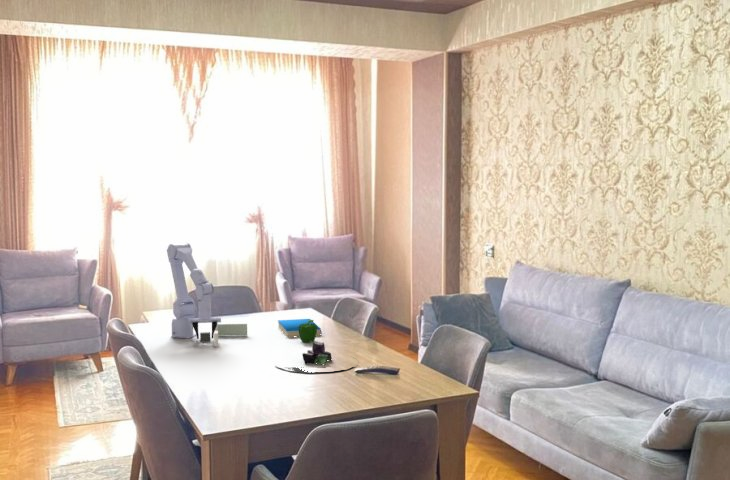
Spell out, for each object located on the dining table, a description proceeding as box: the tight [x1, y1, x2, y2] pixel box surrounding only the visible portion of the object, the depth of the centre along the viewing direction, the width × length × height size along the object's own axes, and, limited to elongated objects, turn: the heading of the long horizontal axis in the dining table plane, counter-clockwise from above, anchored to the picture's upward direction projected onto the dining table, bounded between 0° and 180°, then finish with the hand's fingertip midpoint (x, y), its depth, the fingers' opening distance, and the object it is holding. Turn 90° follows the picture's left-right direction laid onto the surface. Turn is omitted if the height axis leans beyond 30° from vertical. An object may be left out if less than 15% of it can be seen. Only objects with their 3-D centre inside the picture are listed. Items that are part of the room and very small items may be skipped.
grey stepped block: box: [199, 331, 211, 343], centre depth 345 cm, size 8×4×4 cm, turn 11°
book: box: [277, 318, 323, 338], centre depth 365 cm, size 17×4×25 cm
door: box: [218, 323, 248, 337], centre depth 353 cm, size 14×2×6 cm, turn 96°
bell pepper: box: [299, 319, 317, 343], centre depth 342 cm, size 8×8×10 cm
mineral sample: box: [275, 342, 333, 374], centre depth 304 cm, size 35×35×9 cm
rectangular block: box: [213, 322, 219, 348], centre depth 345 cm, size 28×2×6 cm, turn 11°
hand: (205, 338), depth 342 cm, fingers open, 6 cm apart
